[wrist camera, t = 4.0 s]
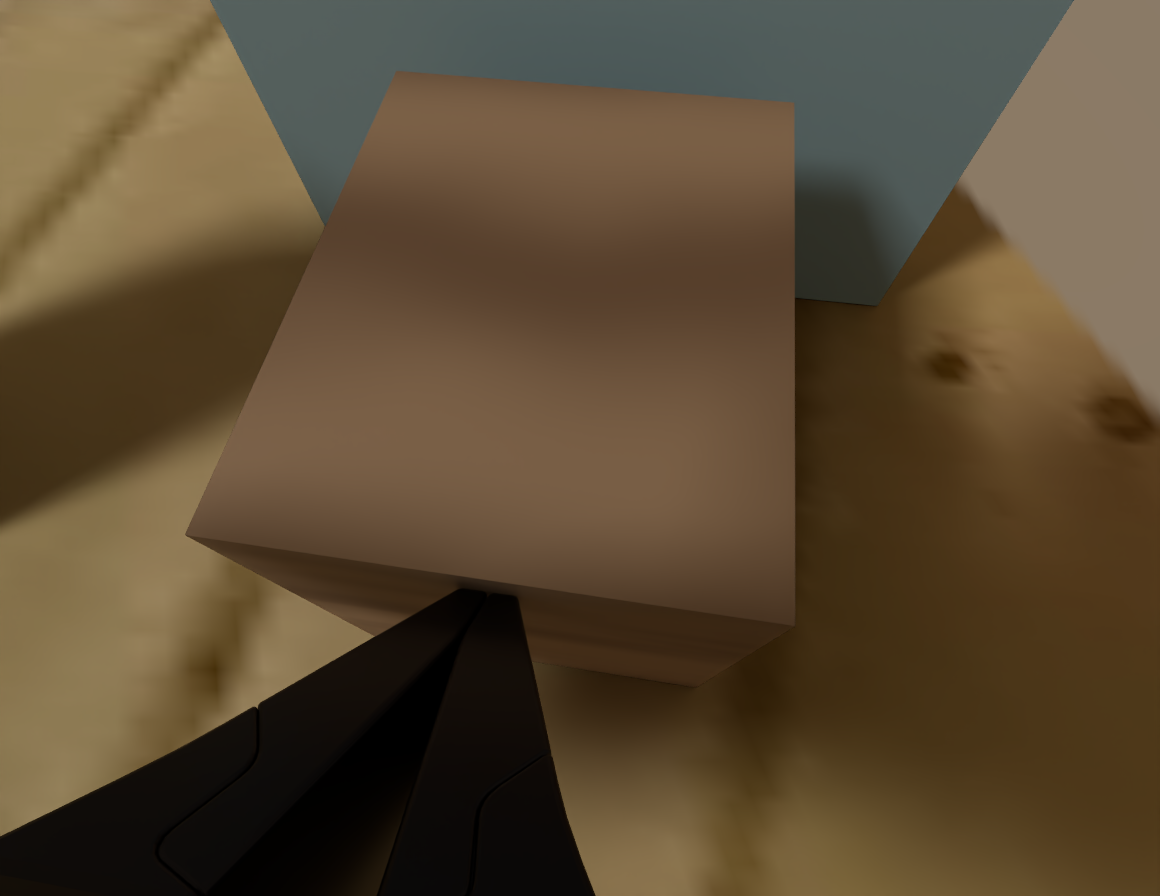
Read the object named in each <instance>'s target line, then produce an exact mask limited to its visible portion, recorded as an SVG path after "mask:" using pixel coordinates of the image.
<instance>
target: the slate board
mask: <svg viewBox="0 0 1160 896" xmlns="http://www.w3.org/2000/svg"><path fill="white" fill-rule="evenodd" d="M210 1H211V3H212V5H213V7H214V9H215V11H216V13H217V15H218V17H219V19H220V21H221V23H222V24H223V26H224V28H225V30H226V32H227V34H228V36H229V38H230V40H231V42H232V44H233V46H234V48H235V50H236V52H237V54H238V56H239V58H240V60H241V62H242V64H243V66H244V68H245V70H246V72H247V74H248V76H249V78H250V80H251V82H252V84H253V86H254V88H255V89H256V91H257V93H258V95H259V97H260V99H261V101H262V103H263V105H264V107H265V109H266V111H267V113H268V115H269V117H270V119H271V121H272V123H273V125H274V127H275V129H276V131H277V133H278V135H279V137H280V139H281V141H282V143H283V145H284V147H285V149H286V151H287V153H288V154H289V156H290V158H291V160H292V162H293V164H294V166H295V168H296V170H297V172H298V174H299V176H300V178H301V180H302V182H303V184H304V186H305V188H306V190H307V192H308V194H309V196H310V198H311V200H312V202H313V204H314V206H315V208H316V210H317V212H318V214H319V216H320V217H321V219H322V221H323V223H324V225H325V226H326V224H327V222H328V220H329V217H330V215H331V213H332V211H333V209H334V206H335V204H336V202H337V200H338V198H339V195H340V193H341V191H342V189H343V187H344V184H345V182H346V180H347V178H348V176H349V173H350V171H351V169H352V167H353V165H354V162H355V160H356V158H357V156H358V154H359V151H360V149H361V147H362V145H363V143H364V141H365V138H366V136H367V134H368V132H369V130H370V127H371V125H372V123H373V121H374V119H375V116H376V114H377V112H378V110H379V108H380V105H381V103H382V101H383V99H384V97H385V94H386V92H387V90H388V88H389V86H390V83H391V81H392V79H393V77H394V75H395V72H396V71H405V72H418V73H430V74H443V75H455V76H468V77H480V78H492V79H505V80H517V81H530V82H542V83H555V84H567V85H580V86H592V87H605V88H617V89H630V90H642V91H655V92H667V93H680V94H692V95H705V96H717V97H730V98H742V99H755V100H767V101H780V102H792V103H794V174H795V298H803V299H813V300H823V301H833V302H843V303H853V304H863V305H873V306H878V304H879V303H880V301H881V299H882V298H883V296H884V295H885V293H886V292H887V290H888V289H889V287H890V285H891V284H892V282H893V281H894V279H895V278H896V276H897V275H898V273H899V271H900V270H901V268H902V267H903V265H904V264H905V262H906V261H907V259H908V257H909V256H910V254H911V253H912V251H913V250H914V248H915V247H916V245H917V243H918V242H919V240H920V239H921V237H922V236H923V234H924V233H925V231H926V229H927V228H928V226H929V225H930V223H931V222H932V220H933V219H934V217H935V215H936V214H937V212H938V211H939V209H940V208H941V206H942V205H943V203H944V201H945V200H946V198H947V197H948V195H949V194H950V192H951V191H952V189H953V187H954V186H955V184H956V183H957V181H958V180H959V178H960V177H961V175H962V173H963V172H964V170H965V169H966V167H967V166H968V164H969V163H970V161H971V159H972V158H973V156H974V155H975V153H976V152H977V150H978V149H979V147H980V145H981V144H982V142H983V141H984V139H985V138H986V136H987V135H988V133H989V131H990V130H991V128H992V127H993V125H994V124H995V122H996V120H997V119H998V117H999V116H1000V114H1001V113H1002V111H1003V110H1004V108H1005V107H1006V105H1007V103H1008V102H1009V100H1010V99H1011V97H1012V96H1013V94H1014V93H1015V91H1016V90H1017V88H1018V86H1019V85H1020V83H1021V82H1022V80H1023V79H1024V77H1025V76H1026V74H1027V72H1028V71H1029V69H1030V68H1031V66H1032V64H1033V63H1034V61H1035V60H1036V58H1037V57H1038V55H1039V54H1040V52H1041V51H1042V49H1043V48H1044V46H1045V44H1046V43H1047V41H1048V40H1049V38H1050V37H1051V35H1052V34H1053V32H1054V30H1055V29H1056V27H1057V26H1058V24H1059V23H1060V21H1061V20H1062V18H1063V16H1064V15H1065V13H1066V12H1067V10H1068V9H1069V7H1070V6H1071V4H1072V2H1073V1H1074V0H210Z"/></svg>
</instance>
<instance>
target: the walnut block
mask: <svg viewBox="0 0 1160 896" xmlns="http://www.w3.org/2000/svg"><path fill="white" fill-rule="evenodd" d="M185 535H186V536H188V537H190V538H191V539H193V540H195V541H197V542H199V543H201V544H203V545H205V546H206V547H208V548H210V549H212V550H214V551H216V552H218V553H220V554H221V555H223V556H225V557H227V558H229V559H231V560H233V561H235V562H236V563H238V564H240V565H242V566H244V567H246V568H248V569H250V570H251V571H253V572H255V573H257V574H259V575H261V576H263V577H265V578H266V579H268V580H270V581H272V582H274V583H276V584H278V585H280V586H281V587H283V588H285V589H287V590H289V591H291V592H293V593H295V594H296V595H298V596H300V597H302V598H304V599H306V600H308V601H310V602H311V603H313V604H315V605H317V606H319V607H321V608H323V609H325V610H326V611H328V612H330V613H332V614H334V615H336V616H338V617H340V618H341V619H343V620H345V621H347V622H349V623H351V624H353V625H355V626H356V627H358V628H360V629H362V630H364V631H366V632H368V633H370V634H371V635H373V636H377V635H379V634H380V633H382V632H384V631H386V630H387V629H389V628H391V627H393V626H394V625H396V624H398V623H399V622H401V621H403V620H405V619H406V618H408V617H410V616H412V615H413V614H415V613H417V612H419V611H420V610H422V609H424V608H425V607H427V606H429V605H431V604H432V603H434V602H436V601H438V600H439V599H441V598H443V597H445V596H446V595H448V594H450V593H452V592H453V591H455V590H457V589H460V588H463V589H470V590H477V591H483V592H485V593H486V594H487V597H488V596H489V595H490V594H491V593H498V594H504V595H511V596H516V597H517V598H518V600H519V604H520V609H521V613H522V618H523V623H524V627H525V632H526V637H527V641H528V646H529V651H530V655H531V660H532V661H533V662H539V663H545V664H552V665H558V666H564V667H570V668H577V669H583V670H589V671H595V672H602V673H608V674H614V675H621V676H627V677H633V678H639V679H646V680H652V681H658V682H664V683H671V684H677V685H683V686H690V687H698V686H699V685H701V684H703V683H704V682H706V681H707V680H709V679H711V678H712V677H714V676H716V675H717V674H719V673H720V672H722V671H724V670H725V669H727V668H728V667H730V666H732V665H733V664H735V663H737V662H738V661H740V660H741V659H743V658H745V657H746V656H748V655H749V654H751V653H753V652H754V651H756V650H758V649H759V648H761V647H762V646H764V645H766V644H767V643H769V642H770V641H772V640H774V639H775V638H777V637H779V636H780V635H782V634H783V633H785V632H787V631H788V630H790V629H791V628H793V627H795V174H794V103H792V102H780V101H767V100H755V99H742V98H730V97H717V96H705V95H692V94H680V93H667V92H655V91H642V90H630V89H617V88H605V87H592V86H580V85H567V84H555V83H542V82H530V81H517V80H505V79H492V78H480V77H468V76H455V75H443V74H430V73H418V72H405V71H396V72H395V75H394V77H393V79H392V81H391V83H390V86H389V88H388V90H387V92H386V94H385V97H384V99H383V101H382V103H381V105H380V108H379V110H378V112H377V114H376V116H375V119H374V121H373V123H372V125H371V127H370V130H369V132H368V134H367V136H366V138H365V141H364V143H363V145H362V147H361V149H360V151H359V154H358V156H357V158H356V160H355V162H354V165H353V167H352V169H351V171H350V173H349V176H348V178H347V180H346V182H345V184H344V187H343V189H342V191H341V193H340V195H339V198H338V200H337V202H336V204H335V206H334V209H333V211H332V213H331V215H330V217H329V220H328V222H327V224H326V226H325V228H324V231H323V233H322V235H321V237H320V239H319V242H318V244H317V246H316V248H315V250H314V253H313V255H312V257H311V259H310V261H309V263H308V266H307V268H306V270H305V272H304V274H303V277H302V279H301V281H300V283H299V285H298V288H297V290H296V292H295V294H294V296H293V299H292V301H291V303H290V305H289V307H288V310H287V312H286V314H285V316H284V318H283V321H282V323H281V325H280V327H279V329H278V332H277V334H276V336H275V338H274V340H273V343H272V345H271V347H270V349H269V351H268V354H267V356H266V358H265V360H264V362H263V365H262V367H261V369H260V371H259V373H258V375H257V378H256V380H255V382H254V384H253V386H252V389H251V391H250V393H249V395H248V397H247V400H246V402H245V404H244V406H243V408H242V411H241V413H240V415H239V417H238V419H237V422H236V424H235V426H234V428H233V430H232V433H231V435H230V437H229V439H228V441H227V444H226V446H225V448H224V450H223V452H222V455H221V457H220V459H219V461H218V463H217V466H216V468H215V470H214V472H213V474H212V476H211V479H210V481H209V483H208V485H207V487H206V490H205V492H204V494H203V496H202V498H201V501H200V503H199V505H198V507H197V509H196V512H195V514H194V516H193V518H192V520H191V523H190V525H189V527H188V529H187V531H186V534H185Z"/></svg>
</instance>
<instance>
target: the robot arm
mask: <svg viewBox="0 0 1160 896" xmlns="http://www.w3.org/2000/svg"><path fill="white" fill-rule="evenodd" d="M0 896H595V893H594V891H593V888H592V885H591V883H590V880H589V878H588V875H587V872H586V870H585V867H584V865H583V862H582V859H581V856H580V854H579V851H578V848H577V845H576V842H575V839H574V836H573V833H572V830H571V827H570V824H569V821H568V818H567V815H566V811H565V807H564V803H563V799H562V795H561V792H560V788H559V784H558V780H557V775H556V771H555V766H554V761H553V758H552V756H551V749H550V744H549V740H548V735H547V730H546V726H545V721H544V716H543V712H542V707H541V702H540V698H539V693H538V688H537V683H536V679H535V674H534V669H533V665H532V660H531V655H530V651H529V646H528V641H527V637H526V632H525V627H524V623H523V618H522V613H521V609H520V604H519V600H518V598H517V597H516V596H511V595H504V594H498V593H491V594H490V595H489V596H488V597H487V594H486V593H485V592H483V591H477V590H470V589H463V588H460V589H457V590H455V591H453V592H452V593H450V594H448V595H446V596H445V597H443V598H441V599H439V600H438V601H436V602H434V603H432V604H431V605H429V606H427V607H425V608H424V609H422V610H420V611H419V612H417V613H415V614H413V615H412V616H410V617H408V618H406V619H405V620H403V621H401V622H399V623H398V624H396V625H394V626H393V627H391V628H389V629H387V630H386V631H384V632H382V633H380V634H379V635H377V636H375V637H373V638H372V639H370V640H368V641H367V642H365V643H363V644H361V645H360V646H358V647H356V648H354V649H353V650H351V651H349V652H347V653H346V654H344V655H342V656H341V657H339V658H337V659H335V660H334V661H332V662H330V663H328V664H327V665H325V666H323V667H321V668H320V669H318V670H316V671H315V672H313V673H311V674H309V675H308V676H306V677H304V678H302V679H301V680H299V681H297V682H295V683H294V684H292V685H290V686H288V687H287V688H285V689H283V690H282V691H280V692H278V693H276V694H275V695H273V696H271V697H269V698H268V699H266V700H264V701H262V702H261V703H260V704H259V705H258V709H257V708H256V707H252V708H250V709H248V710H246V711H245V712H243V713H241V714H240V715H238V716H236V717H234V718H233V719H231V720H229V721H227V722H226V723H224V724H222V725H220V726H218V727H217V728H215V729H213V730H211V731H209V732H208V733H206V734H204V735H202V736H200V737H198V738H197V739H195V740H193V741H191V742H189V743H188V744H186V745H184V746H182V747H180V748H178V749H177V750H175V751H173V752H171V753H169V754H167V755H165V756H163V757H161V758H159V759H157V760H155V761H153V762H151V763H149V764H147V765H145V766H143V767H141V768H139V769H137V770H135V771H133V772H131V773H129V774H127V775H125V776H123V777H121V778H119V779H117V780H115V781H113V782H111V783H109V784H107V785H105V786H103V787H101V788H99V789H97V790H95V791H93V792H91V793H89V794H86V795H84V796H82V797H80V798H78V799H76V800H74V801H72V802H70V803H68V804H66V805H64V806H62V807H60V808H58V809H56V810H54V811H52V812H50V813H47V814H45V815H43V816H41V817H39V818H37V819H35V820H33V821H31V822H29V823H27V824H25V825H23V826H21V827H19V828H17V829H15V830H13V831H11V832H8V833H6V834H4V835H2V836H0Z"/></svg>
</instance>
